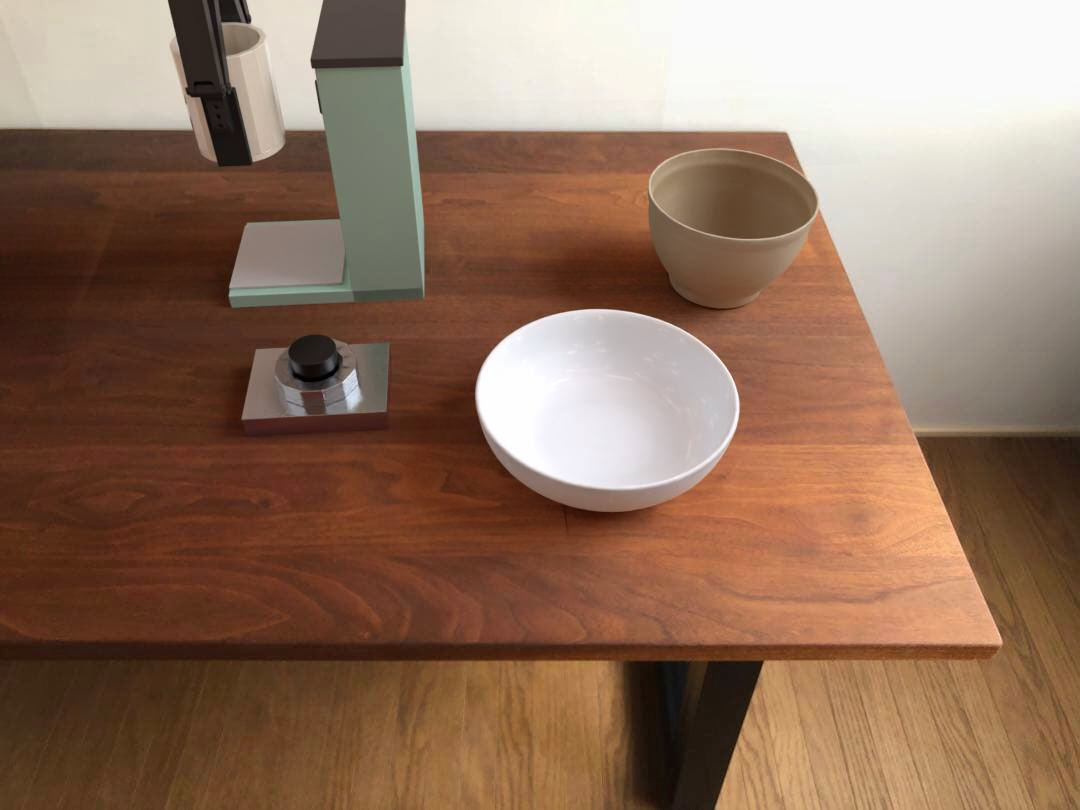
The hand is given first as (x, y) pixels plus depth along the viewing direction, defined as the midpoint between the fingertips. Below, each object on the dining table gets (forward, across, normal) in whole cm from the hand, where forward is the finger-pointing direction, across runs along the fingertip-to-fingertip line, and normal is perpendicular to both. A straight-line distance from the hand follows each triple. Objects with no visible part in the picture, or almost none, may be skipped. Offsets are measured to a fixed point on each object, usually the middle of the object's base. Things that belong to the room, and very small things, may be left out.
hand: (243, 139), depth 78 cm
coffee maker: (+17, +5, -5) cm, 19 cm away
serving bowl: (+17, -23, -30) cm, 41 cm away
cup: (0, 0, 0) cm, 0 cm away
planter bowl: (+17, -1, -44) cm, 48 cm away
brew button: (+14, -15, -6) cm, 21 cm away
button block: (+17, -15, -6) cm, 23 cm away
